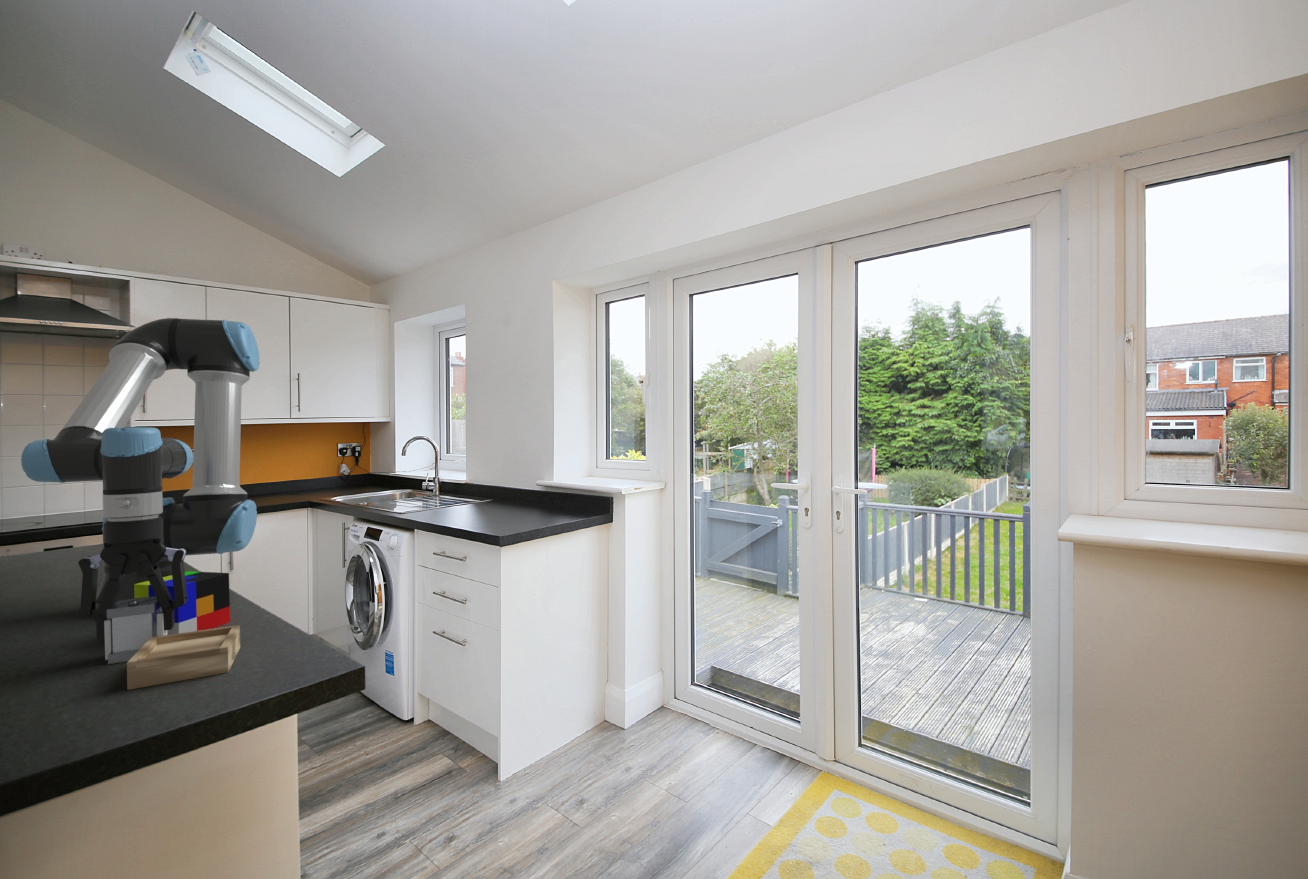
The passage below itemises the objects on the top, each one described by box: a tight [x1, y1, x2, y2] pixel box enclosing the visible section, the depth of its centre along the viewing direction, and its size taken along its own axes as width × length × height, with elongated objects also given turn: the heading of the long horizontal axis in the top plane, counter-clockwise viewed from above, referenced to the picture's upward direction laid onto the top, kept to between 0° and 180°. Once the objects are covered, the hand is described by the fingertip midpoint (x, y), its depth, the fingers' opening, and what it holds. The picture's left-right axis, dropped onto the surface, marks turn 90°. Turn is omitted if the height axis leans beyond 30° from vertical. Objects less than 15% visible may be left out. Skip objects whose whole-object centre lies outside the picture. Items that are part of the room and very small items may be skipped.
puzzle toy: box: [134, 570, 231, 635], centre depth 110 cm, size 10×10×10 cm
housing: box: [107, 596, 161, 665], centre depth 97 cm, size 6×6×10 cm
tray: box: [126, 624, 241, 691], centre depth 92 cm, size 12×12×4 cm
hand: (137, 652), depth 97 cm, fingers closed on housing, 6 cm apart
